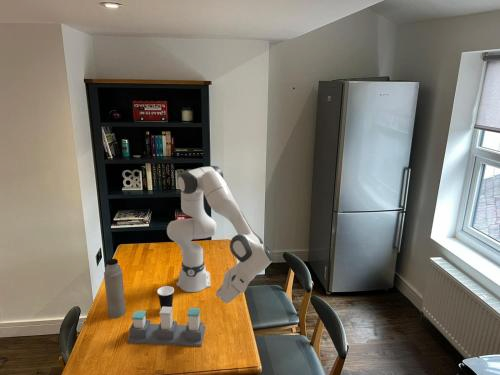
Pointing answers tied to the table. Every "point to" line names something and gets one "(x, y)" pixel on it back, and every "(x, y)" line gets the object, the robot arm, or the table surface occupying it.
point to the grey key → (166, 318)
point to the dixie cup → (165, 296)
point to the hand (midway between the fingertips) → (217, 294)
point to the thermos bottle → (114, 289)
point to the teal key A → (139, 319)
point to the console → (166, 335)
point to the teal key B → (194, 319)
